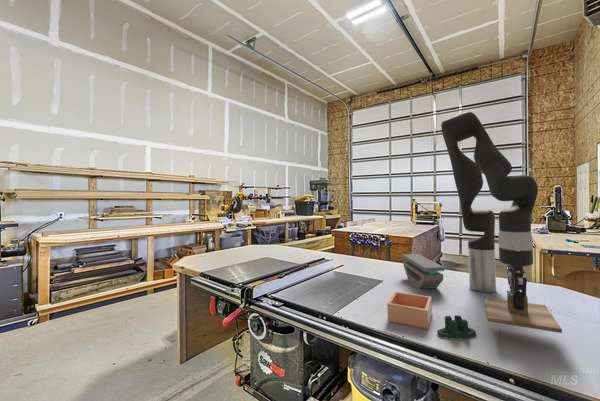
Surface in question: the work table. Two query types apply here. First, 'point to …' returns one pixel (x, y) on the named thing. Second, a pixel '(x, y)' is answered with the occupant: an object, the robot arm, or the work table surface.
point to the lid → (520, 314)
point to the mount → (456, 328)
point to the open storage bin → (410, 309)
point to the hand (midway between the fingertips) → (517, 305)
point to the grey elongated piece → (422, 271)
